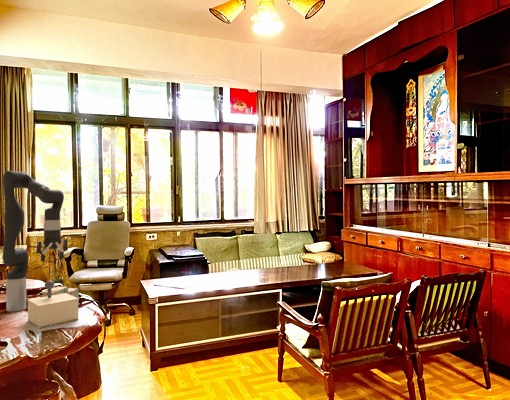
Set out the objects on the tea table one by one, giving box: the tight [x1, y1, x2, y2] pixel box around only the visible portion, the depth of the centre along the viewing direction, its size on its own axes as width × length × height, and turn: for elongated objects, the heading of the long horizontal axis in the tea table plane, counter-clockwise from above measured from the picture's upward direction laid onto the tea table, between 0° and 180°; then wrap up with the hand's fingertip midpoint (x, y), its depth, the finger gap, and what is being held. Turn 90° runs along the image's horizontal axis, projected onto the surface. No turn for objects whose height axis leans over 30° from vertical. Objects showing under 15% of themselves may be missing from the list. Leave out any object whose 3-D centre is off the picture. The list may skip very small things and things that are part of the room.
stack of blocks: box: [41, 286, 80, 305], centre depth 212 cm, size 21×6×12 cm, turn 169°
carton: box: [27, 300, 79, 329], centre depth 193 cm, size 16×18×10 cm
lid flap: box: [26, 280, 80, 307], centre depth 193 cm, size 16×18×9 cm
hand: (52, 260), depth 197 cm, fingers open, 8 cm apart
